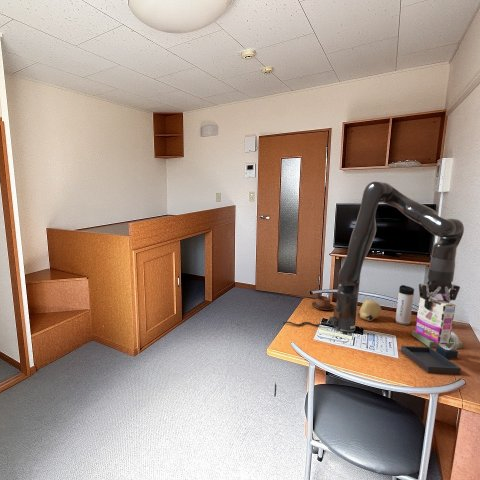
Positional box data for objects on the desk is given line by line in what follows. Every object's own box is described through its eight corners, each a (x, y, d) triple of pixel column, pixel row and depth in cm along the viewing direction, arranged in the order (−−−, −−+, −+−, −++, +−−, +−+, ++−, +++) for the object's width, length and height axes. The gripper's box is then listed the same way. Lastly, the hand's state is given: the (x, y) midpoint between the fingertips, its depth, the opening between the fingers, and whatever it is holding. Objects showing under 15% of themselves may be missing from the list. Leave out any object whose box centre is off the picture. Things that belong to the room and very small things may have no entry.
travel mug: (404, 320, 172) (408, 285, 169) (412, 325, 166) (417, 289, 163) (392, 319, 173) (396, 284, 170) (400, 325, 167) (404, 288, 163)
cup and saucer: (313, 302, 199) (314, 293, 198) (335, 306, 192) (336, 297, 191) (309, 309, 189) (310, 299, 188) (332, 313, 182) (333, 303, 181)
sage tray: (429, 347, 144) (429, 341, 143) (411, 335, 155) (412, 330, 155) (461, 348, 142) (462, 343, 142) (441, 336, 154) (442, 331, 153)
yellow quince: (359, 321, 180) (351, 312, 175) (368, 304, 182) (361, 294, 177) (377, 327, 171) (369, 318, 166) (387, 309, 173) (379, 299, 169)
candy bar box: (450, 344, 125) (456, 304, 122) (438, 344, 124) (444, 305, 122) (424, 331, 136) (429, 295, 133) (414, 331, 135) (418, 295, 133)
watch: (443, 350, 141) (446, 327, 139) (461, 360, 133) (465, 336, 131) (431, 351, 140) (434, 327, 138) (448, 360, 132) (452, 336, 130)
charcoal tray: (427, 372, 124) (428, 366, 124) (400, 351, 140) (401, 345, 140) (460, 374, 123) (461, 368, 123) (428, 352, 139) (429, 346, 139)
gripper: (453, 266, 128) (447, 306, 131) (415, 266, 130) (410, 305, 132) (469, 271, 121) (462, 313, 124) (428, 271, 122) (423, 312, 125)
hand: (435, 309), depth 128 cm, fingers closed on candy bar box, 5 cm apart
